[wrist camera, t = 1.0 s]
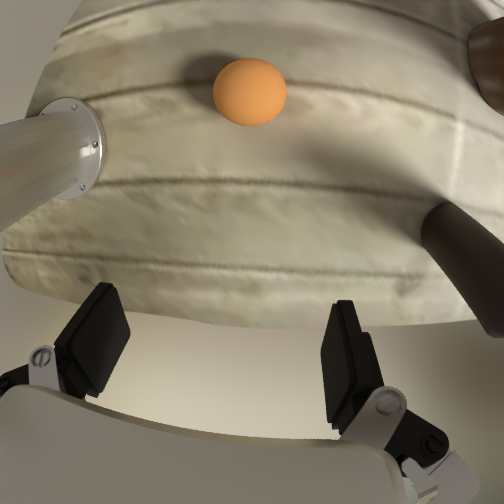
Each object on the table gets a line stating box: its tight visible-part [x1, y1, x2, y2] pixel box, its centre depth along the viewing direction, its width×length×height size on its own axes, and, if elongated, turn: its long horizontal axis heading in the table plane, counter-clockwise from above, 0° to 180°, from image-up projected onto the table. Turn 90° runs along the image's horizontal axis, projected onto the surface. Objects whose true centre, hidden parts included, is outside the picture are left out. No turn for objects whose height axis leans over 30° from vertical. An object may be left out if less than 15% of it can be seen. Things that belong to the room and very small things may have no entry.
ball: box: [213, 58, 287, 126], centre depth 20 cm, size 6×6×6 cm
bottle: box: [421, 203, 504, 338], centre depth 19 cm, size 7×7×20 cm
